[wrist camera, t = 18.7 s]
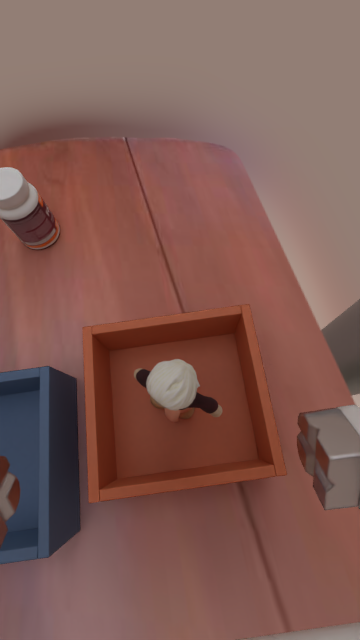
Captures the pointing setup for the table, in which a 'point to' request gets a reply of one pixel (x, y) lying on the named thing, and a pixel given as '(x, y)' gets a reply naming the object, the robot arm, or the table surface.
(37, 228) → the pill bottle
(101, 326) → the terracotta bin
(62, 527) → the slate bin
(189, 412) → the grandmother figurine
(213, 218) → the table surface
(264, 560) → the table surface
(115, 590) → the table surface
